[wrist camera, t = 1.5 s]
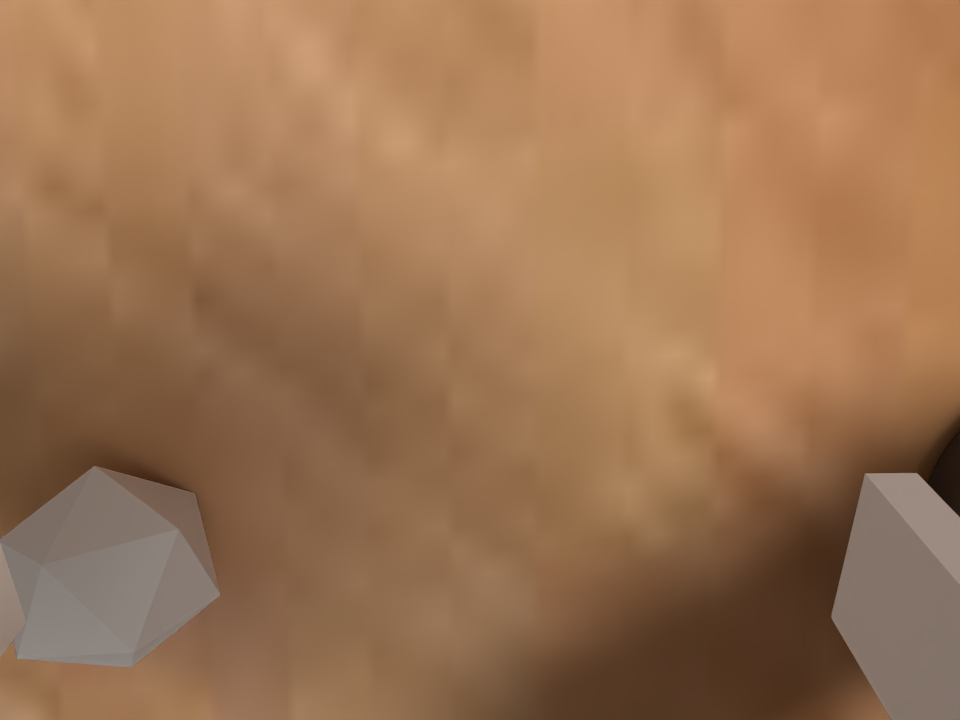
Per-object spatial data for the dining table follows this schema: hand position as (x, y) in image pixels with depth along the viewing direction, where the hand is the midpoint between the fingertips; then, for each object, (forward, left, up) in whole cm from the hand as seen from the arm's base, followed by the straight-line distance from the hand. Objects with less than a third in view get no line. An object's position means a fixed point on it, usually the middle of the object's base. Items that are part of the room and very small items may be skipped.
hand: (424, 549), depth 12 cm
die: (+13, +17, -22) cm, 31 cm away
